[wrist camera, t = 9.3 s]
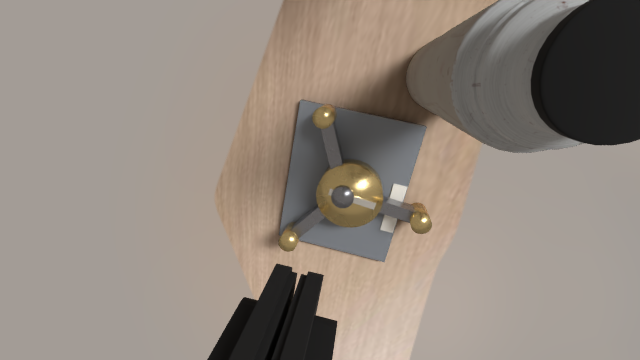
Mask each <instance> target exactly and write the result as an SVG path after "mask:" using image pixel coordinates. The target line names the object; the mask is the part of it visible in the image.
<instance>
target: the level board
mask: <svg viewBox="0 0 640 360" xmlns="http://www.w3.org/2000/svg"><path fill="white" fill-rule="evenodd" d="M323 105H325V104H320V103H315V102H311V101H306V100H300V105H299V112H298V118H297V124H296V131H295V137H294V143H293V150H292V156H291V162H290V169H289V175H288V181H287V188H286V194H285V200H284V206H283V213H282V219H281V225H280V232H279V235H280V236H282V234H283V232H284V230H285V229H286V227H287V225H288V224H289V223H291V222H297V221H298V220H299V219H300V218H302V217H303V216H304V215H305V214H306V213H308V212H309V211H310V210H311V209H312V208H314V207H315V206H316V205H317V200H316V191H317V187H318V184H319V182H320V180H321V178H322V176H323V174H324V172H325V171H326V170H327V169H328V168H329V167H330V165H329V161H328V157H327V153H326V149H325V145H324V140H323V136H322V132H321V128H318V127H316V126H315V124H314V123H313V120H312V116H313V113H314V111H315V110H316V109H318V108H320V107H321V106H323ZM335 109H336V111H337V118H336V120H335V123H336V127H337V132H338V136H339V141H340V145H341V149H342V154H343V158H344V160H345V159H355V160H360V161H363V162H365V163H367V164H369V165H370V166H371V167H372V168H374V169H375V171H376V172H377V173H378V175H379V177H380V179H381V182H382V189H383V196H385V197H388V198H391V199H394V200H398V201H401V202H403V201H404V198H405V195H406V191H407V188H408V185H409V182H410V179H411V175H412V172H413V169H414V166H415V163H416V159H417V156H418V153H419V150H420V147H421V143H422V140H423V137H424V134H425V131H426V128H427V127H426V126H424V125H420V124H415V123H410V122H405V121H401V120H396V119H391V118H386V117H382V116H377V115H372V114H367V113H363V112H358V111H353V110H348V109H344V108H339V107H335ZM397 220H398V219H397V218H394V217H391V216H388V215H385V214H382V213H378V215H377V216H376V217H375V218H374V219H373V220H372V221H370V222H369V223H367V224H365V225H363V226H359V227H353V228H350V227H342V226H339V225H336V224H334V223H332V222H331V221H329V220H328V219H327V218H326V217H325V218H324V219H322V220H321V221H320V222H319V223H317V224H316V225H315V226H314V227H312V228H311V229H310V230H309V231H307V232H306V233H305V234H304V235H303V236H301V237H300V238H299V240H300V241H304V242H308V243H312V244H316V245H320V246H323V247H327V248H331V249H335V250H339V251H343V252H347V253H351V254H355V255H359V256H363V257H366V258H370V259H374V260H378V261H382V262H385V259H386V255H387V252H388V249H389V246H390V243H391V239H392V236H393V233H394V230H395V227H396V223H397Z"/></svg>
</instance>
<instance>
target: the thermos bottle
mask: <svg viewBox="0 0 640 360" xmlns="http://www.w3.org/2000/svg"><path fill="white" fill-rule="evenodd" d="M406 83H407V88H408V91H409V94H410V95H411V97H412V99H413V100H414V101H415V102H416V103H417V104H419V105H420V106H422V107H423V108H425V109H427V110H429V111H430V112H432V113H434V114H435V115H438V116H440V117H441V118H443V119H444V120H446V121H447V122H449V123H450V124H452V125H454V126H455V127H457V128H459V129H460V130H462V131H464V132H465V133H467V134H469V135H470V136H472V137H474V138H475V139H477V140H479V141H480V142H482V143H484V144H486V145H489V146H491V147H493V148H496V149H499V150H503V151H508V152H514V153H518V152H519V153H520V152H521V153H531V152H537V151H544V150H548V149H562V148H568V147H573V146H577V145H580V144H582V143H587V144H593V145H617V144H623V143H629V142H632V141H636V140H639V139H640V0H498V1H497V2H495V3H493V4H492V5H490V6H488V7H487V8H485V9H483V10H482V11H480V12H479V13H477V14H475V15H474V16H472V17H470V18H469V19H467V20H465V21H464V22H462V23H461V24H459V25H457V26H456V27H454V28H452V29H451V30H449V31H448V32H446V33H445V34H443V35H442V36H440V37H438V38H436V39H434V40H433V41H431V42H429V43H428V44H426V45H425V46H423V47H422V48H421V49H420V50H419V51H418V52H417V53H416V54H415V55H414V57H413V58H412V60H411V62H410V64H409V66H408V69H407V73H406Z"/></svg>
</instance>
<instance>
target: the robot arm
mask: <svg viewBox="0 0 640 360" xmlns="http://www.w3.org/2000/svg"><path fill="white" fill-rule="evenodd" d="M323 276H324V275H321V274H317V273H313V272H308V274H307V275H303V274H301V277H300V279H299V282H298V285H297V288H296V291H295V294H294V290H295V284H296V277H297V273H295V272H292V267H289V266H284V265H280V264H276V266H275V267H274V270H273V272H272V274H271V276H270V278H269V280H268V282H267V284H266V286H265V288H264V290H263V292H262V294H261V296H260V298H259V300H258V301H257V300H254V299H249V298H246V297H244V298H243V299H242V300H241V302H240V304H239V305H238V307H237V309H236V310H235V312H234V314H233V316H232V317H231V319H230V321H229V323H228V324H227V326H226V328H225V330H224V331H223V333H222V335H221V337H220V338H219V340H218V342H217V344H216V346H215V347H214V349H213V351H212V353H211V354H210V356H209V358H208V359H207V360H332V356H333V349H334V342H335V335H336V328H337V321H335V320H331V319H327V318H323V317H320V316H316V311H317V306H318V301H319V296H320V291H321V286H322V281H323ZM293 296H294V297H293Z"/></svg>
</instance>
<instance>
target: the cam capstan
mask: <svg viewBox="0 0 640 360" xmlns="http://www.w3.org/2000/svg"><path fill="white" fill-rule="evenodd" d="M336 118H337V111H336V109H335V107H334V106H332V105H330V104H326V105H323V106H321V107H320V108H318V109H316V110H315V111H314V113H313V116H312V120H313V123H314V124H315V126H316V127H318V128H321V132H322V136H323V140H324V145H325V149H326V153H327V157H328V161H329V165H330V167H329V168H328V169H327V170H326V171H325V172H324V174H323V176H322V178H321V180H320V182H319V184H318V187H317V191H316V200H317V205H316V206H315V207H314V208H312V209H311V210H310V211H309V212H308V213H306V214H305V215H304V216H303V217H302V218H300V219H299V220H298V221H297V222H291V223H289V224H288V225H287V227H286V229H285V230H284V232H283V234H282V236H281V237H280V239H279V246H280V248H281V249H282V250H284V251H288V252H289V251H293V250H294V249H295V247H296V245H297V243H298V241H299V238H300V237H301V236H303V235H304V234H305V233H306V232H307V231H309V230H310V229H311V228H312V227H314V226H315V225H316V224H317V223H319V222H320V221H321V220H322V219H324V218H325V217H326V218H327V219H328V220H329V221H331V222H332V223H334V224H336V225H339V226H342V227H350V228H353V227H359V226H363V225H365V224H367V223H369V222H370V221H372V220H373V219H374V218H375V217H376V216H377V215H378V213H382V214H385V215H388V216H391V217H394V218H397V219H400V220H403V221H406V222H409V223H410V224H411V228H412V230H413V231H414V232H416V233H418V234H424V233H427V232H428V231H429V230H430V229H431V227H432V223H431V220H430V218H429V215H428V213H427V210H426V208H425V206H424V205H423V204H421V203H413V204H411V205H410V204H407V203H404V202H401V201H398V200H394V199H391V198H388V197H385V196H383V189H382V182H381V179H380V177H379V175H378V173H377V172H376V171H375V169H374V168H372V167H371V166H370V165H369V164H367V163H365V162H363V161H360V160H355V159H345V160H344V158H343V154H342V149H341V145H340V141H339V136H338V132H337V127H336V123H335V120H336Z"/></svg>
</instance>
